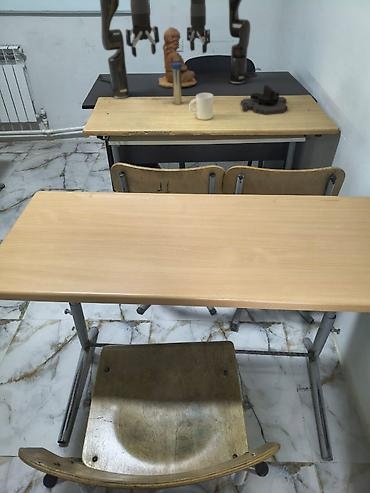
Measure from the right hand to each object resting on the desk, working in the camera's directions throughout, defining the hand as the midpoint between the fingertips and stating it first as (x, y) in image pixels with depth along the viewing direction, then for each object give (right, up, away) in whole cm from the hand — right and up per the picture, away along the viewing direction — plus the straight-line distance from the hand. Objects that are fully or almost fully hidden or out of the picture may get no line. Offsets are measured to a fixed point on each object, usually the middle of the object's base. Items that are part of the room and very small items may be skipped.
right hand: (198, 51), depth 184 cm
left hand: (-25, -16, -27) cm, 40 cm away
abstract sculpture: (+35, -28, +2) cm, 45 cm away
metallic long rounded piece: (-11, -22, +11) cm, 27 cm away
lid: (-11, -7, -1) cm, 13 cm away
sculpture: (-12, +3, +40) cm, 42 cm away
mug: (+1, -36, -6) cm, 37 cm away
